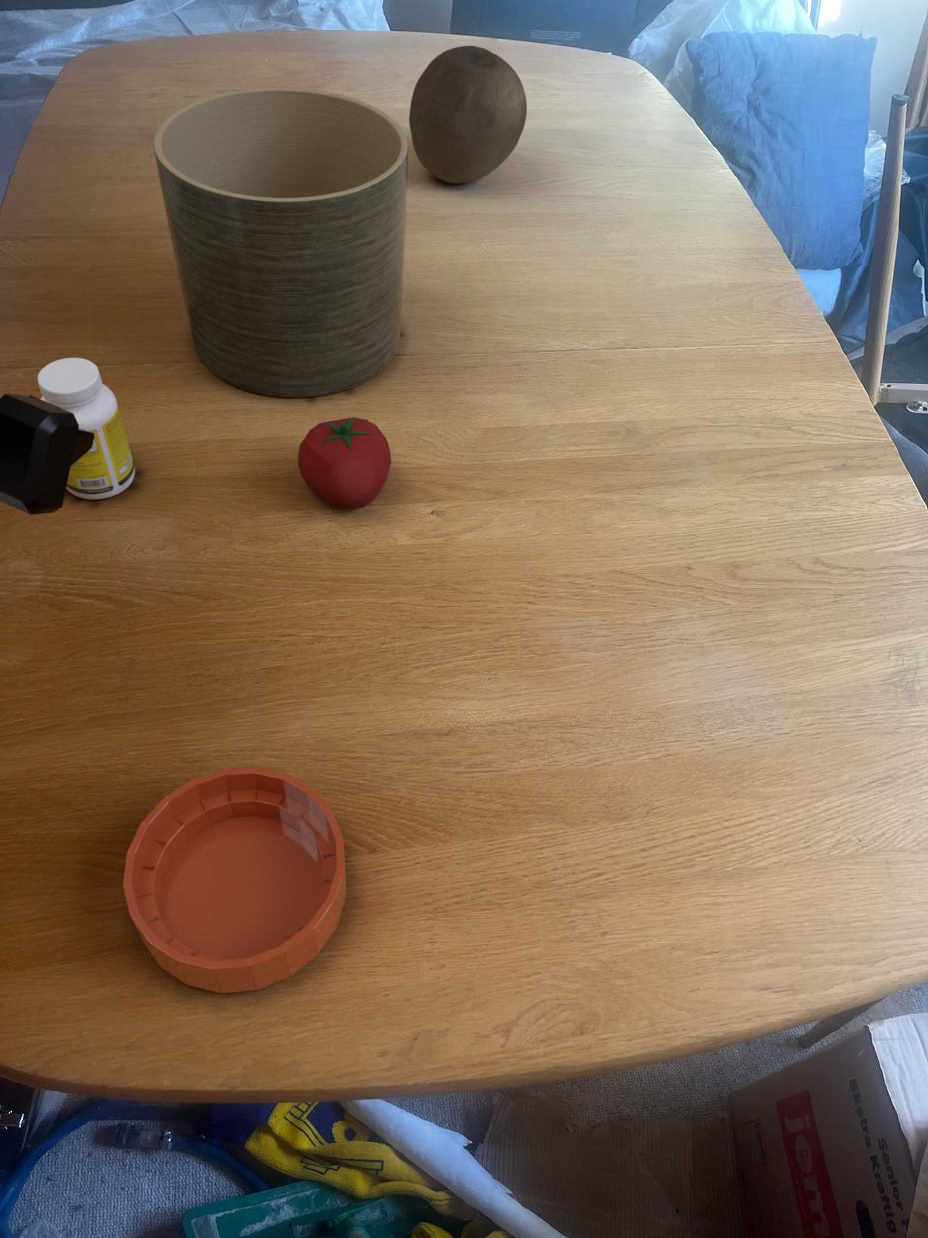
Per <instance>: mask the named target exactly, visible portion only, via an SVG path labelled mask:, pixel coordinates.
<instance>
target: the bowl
mask: <svg viewBox="0 0 928 1238" xmlns="http://www.w3.org/2000/svg"><path fill="white" fill-rule="evenodd" d="M345 853H346V852H345V840H344V836H343V833H342V831H341V829H340V826H339V822H338V821H337V818H336V815H335V813H334V811H333V809H332V808H331V807H330V806H329V805H328V804H327V803H326V801H325V800H324V799H323V798H322V797H321V796H320V795H319V794H318V792H317V791H316V790H315V789H314V788H312V787H311V786H309V785H308V784H306V783H304V782H302V781H300V780H299V779H297V778H295V777H293V776H292V775H290V774H288V773H285V772H281V771H276V770H272V769H267V768H262V767H257V766H250V767H248V766H247V767H233V768H232V767H231V768H222V769H219V770H216V771H213V772H210V773H207V774H204V775H201V776H198V777H195V778H192V779H190V780H188V781H187V782H186V783H184V784H183V785H180V786H179V787H178V788H176V789H174V790H173V791H171V792H170V793H168V794H167V795H165V796H164V797H163V798H162V799H160V801H159V802H157V805H155V807H154V808H153V809H152V810H151V811H150V812H149V813H148V814H147V816H145V818H144V819H142V821H141V822H140V825H139V826H138V828H137V830H136V833H135V835H134V837H133V839H132V841H131V843H130V845H129V847H128V849H127V851H126V855H125V862H124V870H123V871H124V872H123V879H122V889H123V892H124V898H125V901H126V905H127V909H128V914H129V916H130V919H131V921H132V923H133V925H134V927H135V929H136V931H137V933H138V935H139V937H140V939H141V940H142V942H143V944H144V946H145V948H147V950H148V952H150V954H151V956H152V957H153V959H154V960H155V962H157V964H158V965H159V967H160V968H161V969H162V970H164V971H166V972H167V973H168V974H169V975H171V976H173V977H175V978H176V979H178V980H179V981H180V982H181V983H183V984H185V985H187V986H189V987H194V988H197V989H201V990H206V991H209V992H214V993H218V994H221V993H222V994H228V993H239V992H240V993H241V992H251V991H259V990H261V989H263V988H266V987H268V986H271V985H274V984H276V983H278V982H280V981H284V980H287V979H288V978H290V977H292V976H293V975H294V974H296V973H297V972H298V971H299V970H300V969H302V968H304V966H305V965H307V964H308V963H309V962H310V961H312V960H313V959H314V958H316V957H317V956H318V955H319V954H320V952H321V951H322V949H323V948H324V946H325V945H326V944H327V942H328V941H329V939H330V938H331V936H332V935H333V933H335V931H336V929H337V927H338V925H339V921H340V919H341V915H342V912H343V908H344V905H345V901H346V898H347V876H346V875H347V873H346V871H347V870H346V855H345Z"/></svg>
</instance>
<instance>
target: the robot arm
mask: <svg viewBox="0 0 928 1238" xmlns="http://www.w3.org/2000/svg"><path fill="white" fill-rule="evenodd" d="M94 436H95V435H94V433H93V432H90V431H87V430H83V429H80V428H79V424H78V422H77V420H76V418H75V416H74V414H73V413H71V412H69V411H66V410H64V409H62V408H60V407H58V406H55V405H53V404H50V403H48V402H45V401H43V400H41V398H38V397H36V396H33V395H32V394H31V395H29V396H27V395H23V394H18V393H4V394H3V395H2V396H1V397H0V502H1V503H3V504H6V505H8V506H10V507H12V508H15V509H16V510H19V511H21V512H24V513H26V514H28V515H30V516H33V515H45V514H53V513H55V512H57V511H59V510H60V509H61V508H63V506H64V500H65V496H66V492H67V488H66V487H67V482H68V477H69V472H70V467H71V466H72V465H73V464H74V463H75V462H77V461H78V460H79V459H80V458H81V457H82V456H83V455H85V454H86V453H87V452H88V451H89V450H90V449H91V448H92V446H93V441H94Z"/></svg>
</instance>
